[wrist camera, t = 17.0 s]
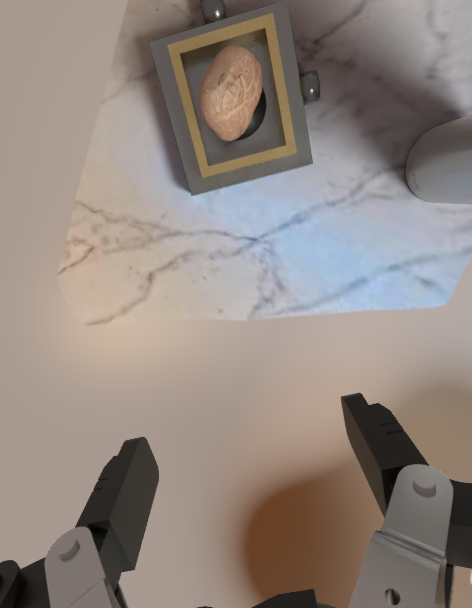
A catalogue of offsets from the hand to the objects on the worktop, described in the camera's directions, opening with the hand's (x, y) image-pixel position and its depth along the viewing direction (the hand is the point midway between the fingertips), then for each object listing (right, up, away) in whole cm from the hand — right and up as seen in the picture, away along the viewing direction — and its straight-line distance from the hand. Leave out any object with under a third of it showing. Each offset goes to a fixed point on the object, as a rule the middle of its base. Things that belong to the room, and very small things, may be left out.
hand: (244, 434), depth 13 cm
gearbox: (0, +30, +26) cm, 40 cm away
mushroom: (-1, +27, +24) cm, 36 cm away
